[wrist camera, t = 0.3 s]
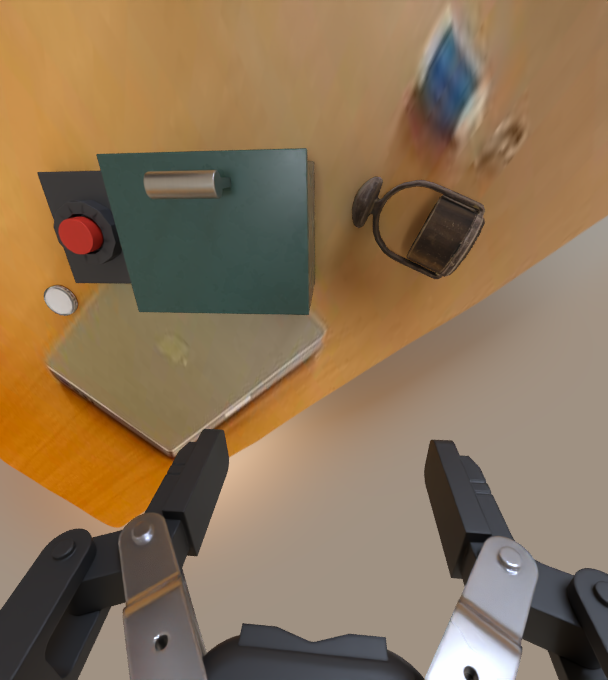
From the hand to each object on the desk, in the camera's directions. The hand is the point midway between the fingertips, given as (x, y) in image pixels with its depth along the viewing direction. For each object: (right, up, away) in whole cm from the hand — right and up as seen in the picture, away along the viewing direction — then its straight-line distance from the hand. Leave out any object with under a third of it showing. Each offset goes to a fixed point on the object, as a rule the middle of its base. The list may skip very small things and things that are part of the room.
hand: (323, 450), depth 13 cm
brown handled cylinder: (+11, +18, +23) cm, 31 cm away
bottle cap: (-33, +10, +31) cm, 46 cm away
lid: (-9, +13, +17) cm, 23 cm away
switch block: (-24, +17, +26) cm, 39 cm away
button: (-24, +16, +23) cm, 37 cm away
